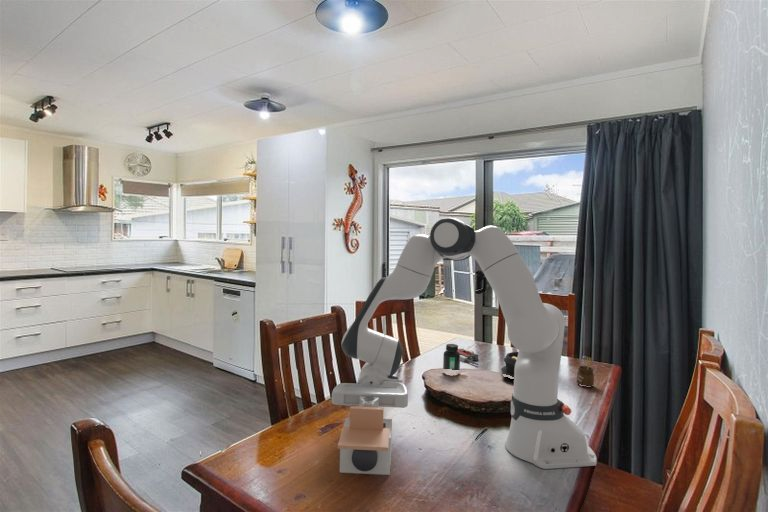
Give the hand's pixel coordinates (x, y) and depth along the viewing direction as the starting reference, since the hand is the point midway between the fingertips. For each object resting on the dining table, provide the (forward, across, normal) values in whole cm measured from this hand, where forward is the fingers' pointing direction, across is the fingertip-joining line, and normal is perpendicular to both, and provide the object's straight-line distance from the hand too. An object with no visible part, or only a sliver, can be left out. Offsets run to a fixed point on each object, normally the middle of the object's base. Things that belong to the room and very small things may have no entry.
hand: (368, 407), depth 104 cm
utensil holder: (-61, +80, +14) cm, 102 cm away
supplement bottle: (-69, +30, +14) cm, 76 cm away
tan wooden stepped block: (+8, 0, +5) cm, 9 cm away
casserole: (-69, +60, +14) cm, 92 cm away
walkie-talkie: (-90, +40, +14) cm, 99 cm away
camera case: (+1, 0, +14) cm, 14 cm away
